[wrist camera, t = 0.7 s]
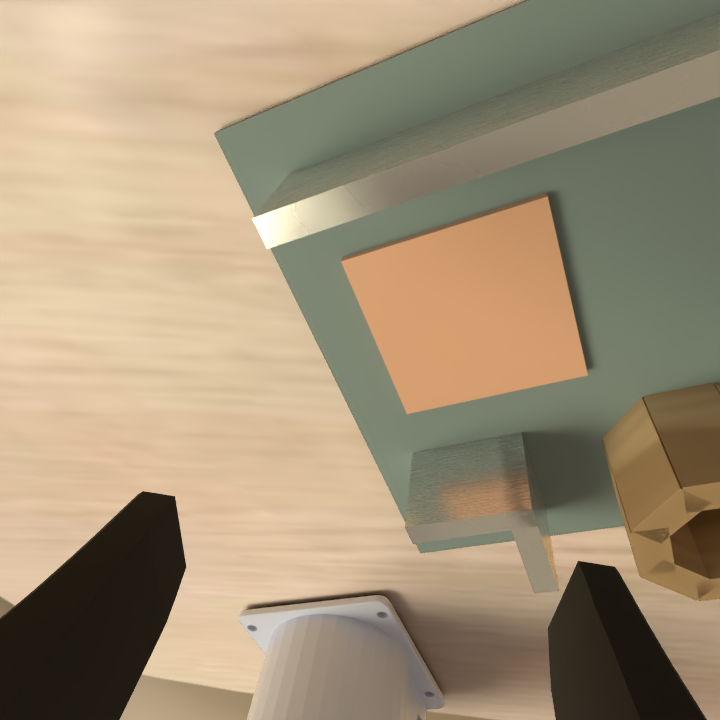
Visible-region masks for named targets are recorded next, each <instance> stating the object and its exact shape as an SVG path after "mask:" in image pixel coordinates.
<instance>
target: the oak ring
mask: <svg viewBox="0 0 720 720" xmlns="http://www.w3.org/2000/svg"><path fill="white" fill-rule="evenodd" d="M602 442H603V446H604V451H605V455H606V459H607V464H608V468H609V473H610V477H611V481H612V485H613V488H614V491H615V495H616V498H617V501H618V505H619V508H620V512H621V515H622V518H623V522H624V525H625V528H626V532H627V535H628V538H629V542H630V545H631V548H632V552H633V555H634V559H635V562H636V565H637V569H638V572H639V575H640V576H641V577H642V578H644V579H646V580H649V581H651V582H654V583H656V584H658V585H661V586H663V587H665V588H668V589H670V590H673V591H675V592H677V593H680V594H682V595H685V596H687V597H689V598H692V599H694V600H696V601H697V600H699V601H702V600H713V599H720V385H718V384H716V383H714V384H713V383H707V384H702V385H697V386H692V387H687V388H682V389H677V390H672V391H667V392H662V393H657V394H652V395H647V396H643V398H642V397H641V398H640V399H639V400H638V401H637V402H636V403H635V404H634V405H633V406H632V407H631V408H630V410H629V411H628V412H627V413H626V414H625V415H624V416H623V417H622V418H621V419H620V420H619V421H618V422H617V423H616V424H615V425H614V426H613V427H612V428H611V429H610V430H609V431H608V433H607V434H606V435H605V436H604V437H603V439H602Z"/></svg>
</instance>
